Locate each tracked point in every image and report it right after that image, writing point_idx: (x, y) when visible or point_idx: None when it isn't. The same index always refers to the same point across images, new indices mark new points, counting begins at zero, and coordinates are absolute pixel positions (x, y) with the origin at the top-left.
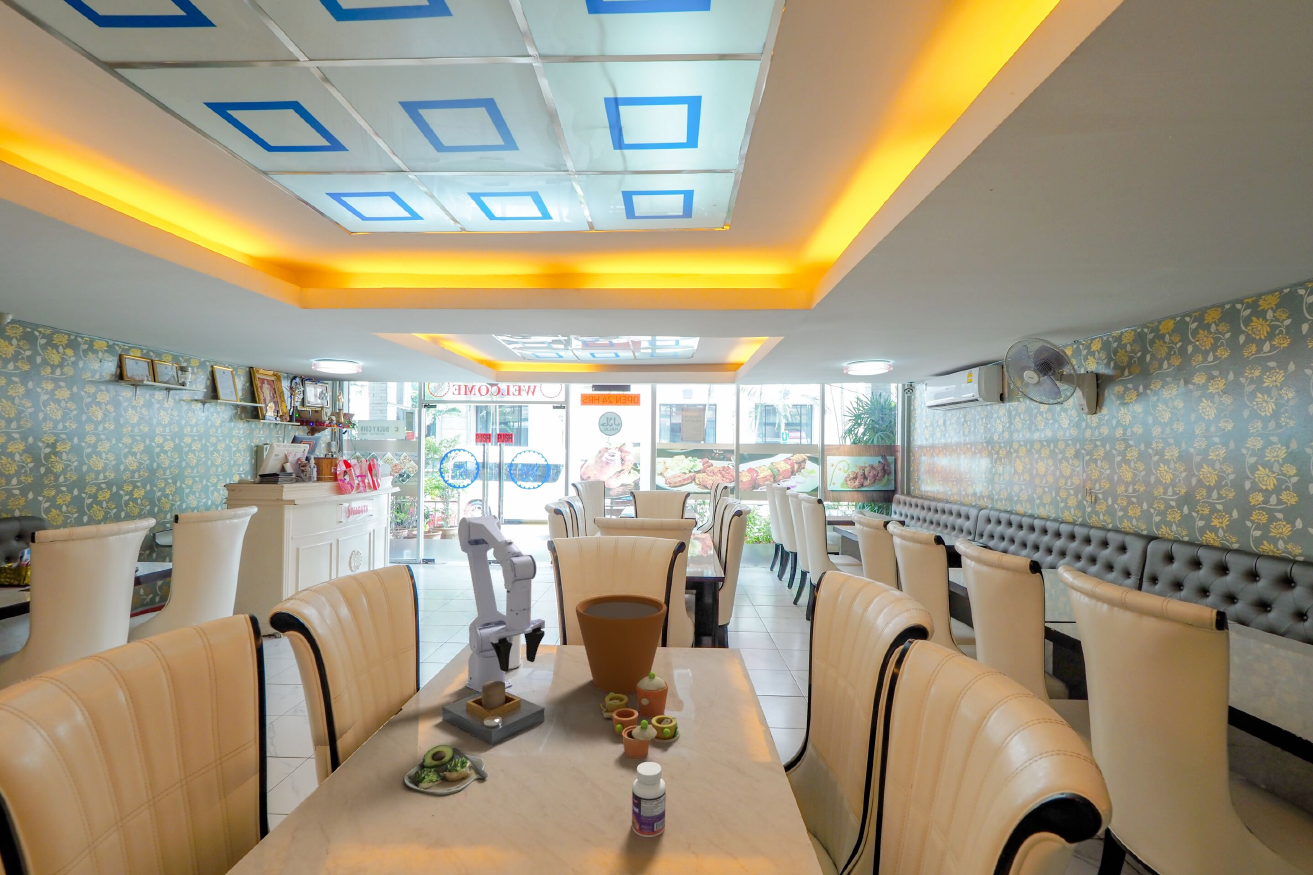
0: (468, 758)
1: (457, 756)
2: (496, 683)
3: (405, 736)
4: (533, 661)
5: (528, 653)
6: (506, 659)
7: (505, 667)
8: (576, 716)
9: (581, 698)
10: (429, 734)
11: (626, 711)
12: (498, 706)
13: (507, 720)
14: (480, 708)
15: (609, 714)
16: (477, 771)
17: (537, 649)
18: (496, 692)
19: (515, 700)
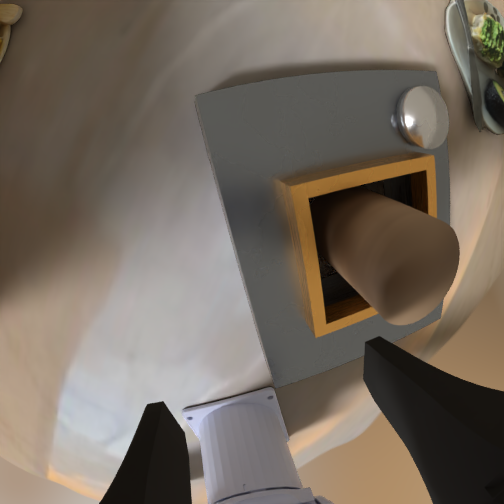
0: (468, 56)
1: (480, 83)
2: (405, 288)
3: (481, 264)
4: (153, 404)
5: (180, 464)
6: (440, 374)
7: (399, 349)
8: (73, 78)
9: (3, 216)
10: (462, 245)
11: None
12: (381, 196)
13: (377, 96)
14: (436, 209)
15: (8, 5)
16: (463, 1)
17: (119, 469)
18: (428, 215)
19: (314, 191)
